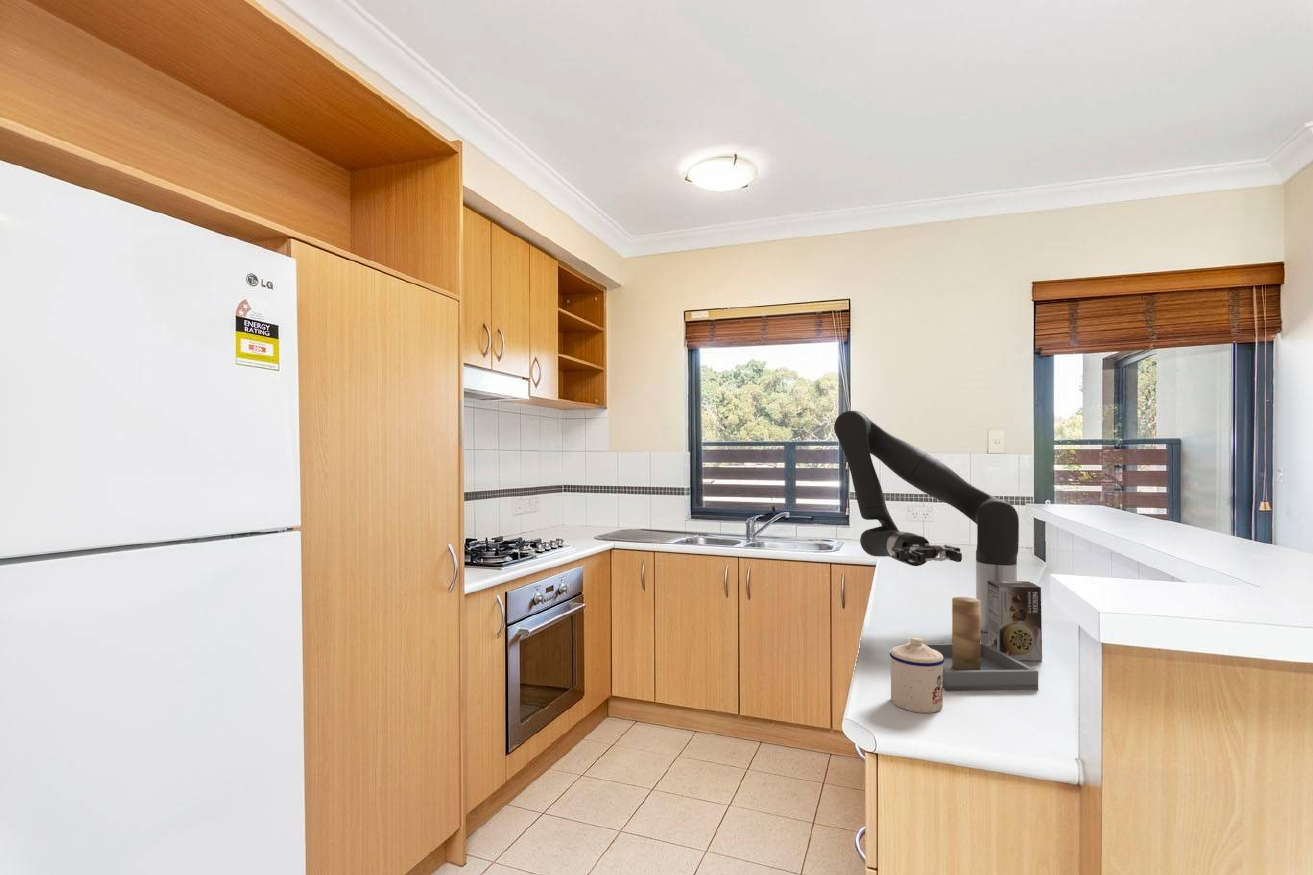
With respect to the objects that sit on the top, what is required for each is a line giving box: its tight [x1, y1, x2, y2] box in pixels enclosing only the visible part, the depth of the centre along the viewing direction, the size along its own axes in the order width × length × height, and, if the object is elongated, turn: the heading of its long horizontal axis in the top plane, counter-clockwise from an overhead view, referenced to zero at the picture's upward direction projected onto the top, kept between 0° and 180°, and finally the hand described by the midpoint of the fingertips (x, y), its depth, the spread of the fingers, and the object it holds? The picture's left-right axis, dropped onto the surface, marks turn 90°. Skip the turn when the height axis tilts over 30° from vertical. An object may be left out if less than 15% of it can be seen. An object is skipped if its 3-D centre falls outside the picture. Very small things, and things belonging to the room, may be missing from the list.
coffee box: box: [987, 580, 1043, 662], centre depth 144 cm, size 9×6×16 cm
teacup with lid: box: [889, 636, 944, 714], centre depth 117 cm, size 12×9×12 cm
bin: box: [924, 642, 1039, 692], centre depth 132 cm, size 18×18×4 cm
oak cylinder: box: [951, 596, 982, 670], centre depth 132 cm, size 5×5×14 cm
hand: (941, 557), depth 143 cm, fingers open, 8 cm apart
